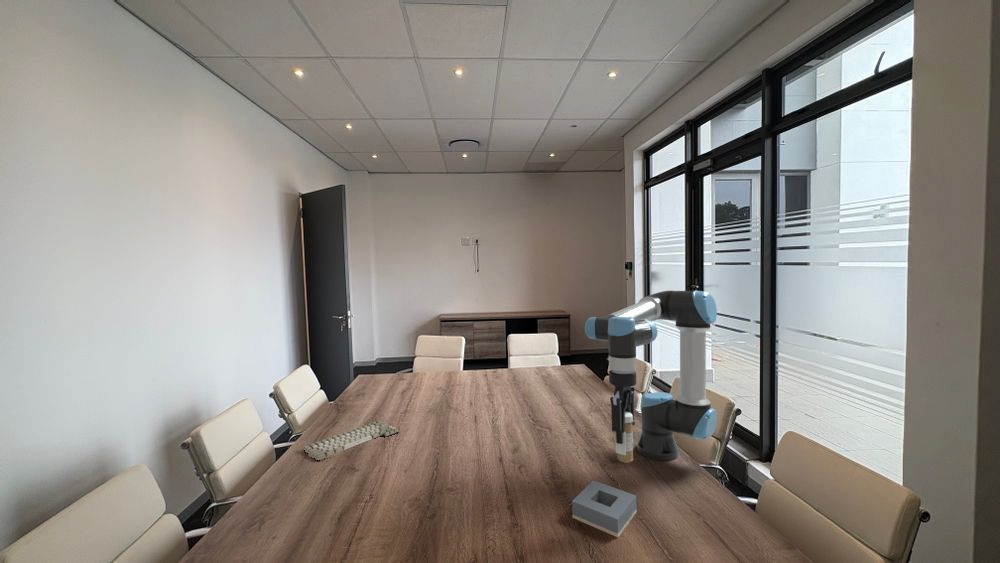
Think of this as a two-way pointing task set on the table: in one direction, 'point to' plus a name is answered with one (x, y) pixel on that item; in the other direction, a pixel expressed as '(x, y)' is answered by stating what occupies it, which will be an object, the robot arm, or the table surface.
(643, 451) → the robot arm
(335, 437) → the mechanical keyboard
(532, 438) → the table surface
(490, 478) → the table surface
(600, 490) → the socket block
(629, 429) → the sprinkles bottle
